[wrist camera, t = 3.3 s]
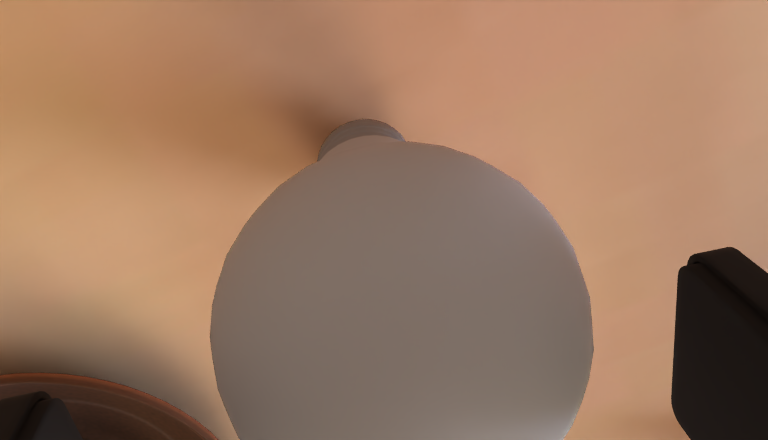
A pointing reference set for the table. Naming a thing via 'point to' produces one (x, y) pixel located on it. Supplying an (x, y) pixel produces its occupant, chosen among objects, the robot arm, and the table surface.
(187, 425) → the cup and saucer
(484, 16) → the table surface
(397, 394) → the lightbulb
